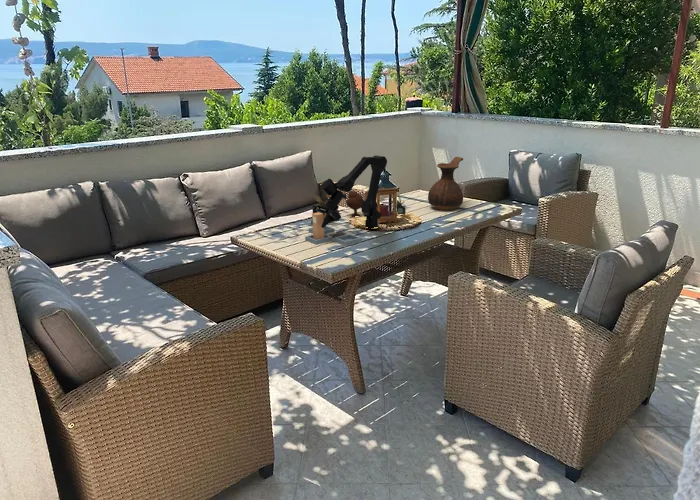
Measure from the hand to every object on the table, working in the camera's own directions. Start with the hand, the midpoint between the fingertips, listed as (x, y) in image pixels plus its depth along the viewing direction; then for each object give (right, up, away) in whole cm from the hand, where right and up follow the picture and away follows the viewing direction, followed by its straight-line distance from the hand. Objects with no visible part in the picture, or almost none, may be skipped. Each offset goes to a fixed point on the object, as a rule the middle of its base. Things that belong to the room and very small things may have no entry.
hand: (316, 225), depth 279 cm
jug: (+75, +13, +61) cm, 98 cm away
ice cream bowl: (+20, +8, +49) cm, 54 cm away
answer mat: (+10, -5, +10) cm, 15 cm away
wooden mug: (+2, +4, +39) cm, 39 cm away
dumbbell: (+46, +11, +57) cm, 74 cm away
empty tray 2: (+16, -8, -1) cm, 18 cm away
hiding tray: (+1, -8, +3) cm, 8 cm away
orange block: (+1, -7, +3) cm, 8 cm away
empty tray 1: (+1, -3, +18) cm, 18 cm away
